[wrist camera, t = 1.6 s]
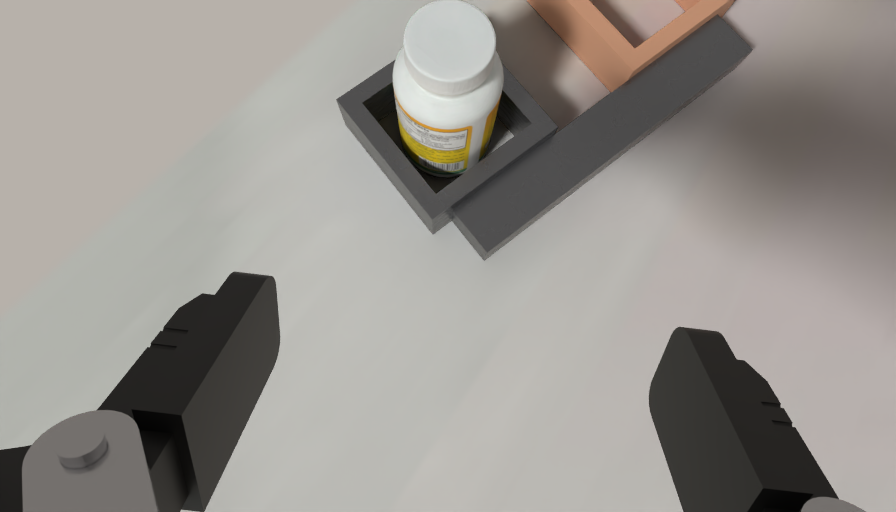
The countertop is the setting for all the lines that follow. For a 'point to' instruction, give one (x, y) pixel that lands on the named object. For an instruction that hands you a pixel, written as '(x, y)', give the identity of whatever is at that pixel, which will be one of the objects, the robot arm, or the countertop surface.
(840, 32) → the countertop surface
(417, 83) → the supplement bottle
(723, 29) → the rail
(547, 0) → the marked socket
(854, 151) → the countertop surface
